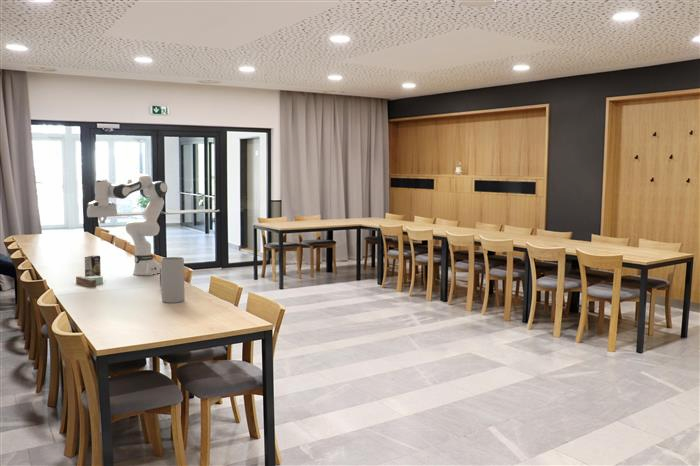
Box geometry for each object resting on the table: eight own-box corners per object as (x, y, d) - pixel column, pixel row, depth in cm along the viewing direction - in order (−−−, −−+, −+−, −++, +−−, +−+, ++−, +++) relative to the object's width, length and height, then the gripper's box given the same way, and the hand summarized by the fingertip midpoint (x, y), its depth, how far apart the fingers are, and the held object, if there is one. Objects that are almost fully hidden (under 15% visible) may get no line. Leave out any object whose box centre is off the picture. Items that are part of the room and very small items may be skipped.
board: (80, 282, 404) (80, 276, 404) (96, 286, 392) (95, 279, 391) (76, 283, 402) (76, 276, 401) (91, 287, 389) (91, 280, 389)
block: (96, 282, 407) (96, 275, 406) (102, 284, 402) (102, 276, 401) (85, 284, 400) (84, 276, 400) (91, 285, 395) (91, 278, 395)
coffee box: (93, 280, 413) (92, 257, 411) (84, 280, 414) (84, 256, 413) (101, 278, 422) (100, 255, 420) (92, 278, 423) (92, 255, 422)
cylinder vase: (172, 304, 343) (171, 260, 341) (157, 301, 350) (156, 258, 348) (188, 300, 354) (188, 258, 352) (174, 297, 361) (173, 256, 358)
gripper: (113, 202, 422) (114, 222, 423) (85, 203, 406) (85, 223, 407) (118, 202, 418) (118, 222, 419) (90, 203, 402) (90, 224, 403)
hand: (102, 223), depth 413 cm, fingers closed
